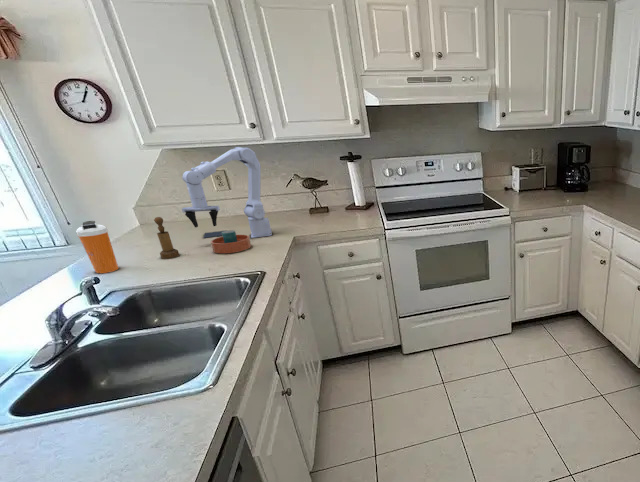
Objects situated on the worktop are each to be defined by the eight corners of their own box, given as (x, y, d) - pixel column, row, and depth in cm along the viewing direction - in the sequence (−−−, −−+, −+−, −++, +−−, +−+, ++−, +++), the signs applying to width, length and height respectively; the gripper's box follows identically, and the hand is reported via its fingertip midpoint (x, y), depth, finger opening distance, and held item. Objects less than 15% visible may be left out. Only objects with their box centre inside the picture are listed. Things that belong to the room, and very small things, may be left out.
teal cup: (239, 245, 197) (235, 229, 194) (239, 248, 192) (235, 232, 189) (226, 247, 194) (221, 231, 191) (225, 250, 190) (221, 233, 187)
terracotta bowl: (251, 242, 203) (248, 232, 201) (251, 251, 191) (249, 240, 189) (214, 247, 196) (211, 237, 194) (213, 256, 184) (210, 245, 182)
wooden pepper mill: (158, 259, 180) (144, 219, 173) (165, 255, 186) (152, 215, 179) (175, 258, 181) (163, 218, 175) (182, 253, 187) (170, 214, 180)
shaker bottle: (119, 265, 174) (101, 218, 166) (124, 269, 168) (106, 222, 161) (90, 270, 167) (71, 223, 160) (94, 276, 162) (74, 226, 154)
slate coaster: (227, 231, 223) (226, 230, 223) (226, 235, 215) (226, 234, 215) (205, 233, 218) (204, 233, 218) (203, 238, 210) (203, 237, 210)
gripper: (175, 200, 184) (184, 229, 189) (212, 198, 188) (220, 227, 193) (182, 197, 190) (190, 225, 195) (217, 195, 194) (225, 223, 199)
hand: (205, 226), depth 194 cm, fingers open, 7 cm apart
